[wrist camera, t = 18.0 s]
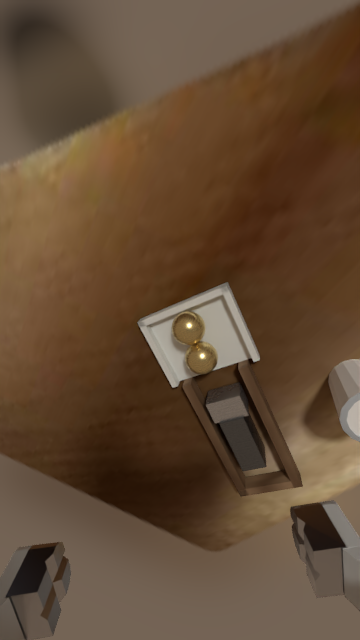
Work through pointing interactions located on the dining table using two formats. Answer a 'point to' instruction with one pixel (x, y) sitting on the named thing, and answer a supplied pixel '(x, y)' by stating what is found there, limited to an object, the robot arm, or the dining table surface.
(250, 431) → the long gray brick
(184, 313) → the shiny gold ball
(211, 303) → the tray
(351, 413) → the white cup
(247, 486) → the slot rail
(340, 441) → the dining table surface
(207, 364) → the brass sphere
